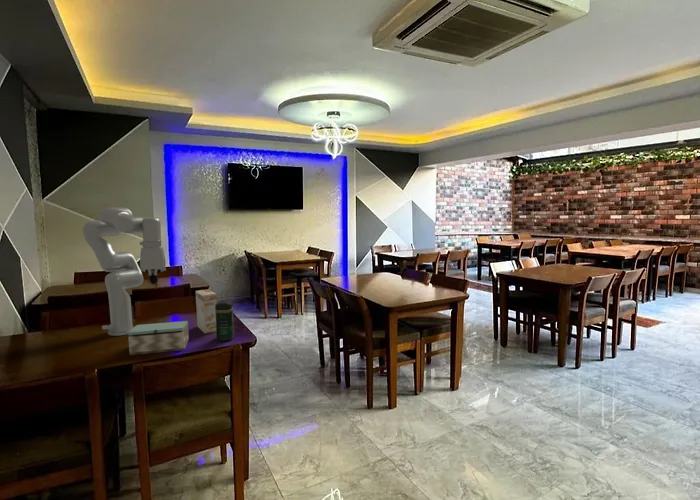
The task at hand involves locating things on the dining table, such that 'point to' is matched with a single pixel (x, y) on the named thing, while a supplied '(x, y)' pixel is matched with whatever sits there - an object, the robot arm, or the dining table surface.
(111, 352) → the dining table surface
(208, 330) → the coffeecake box
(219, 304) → the coffee jar
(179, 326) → the lid
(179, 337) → the chest
